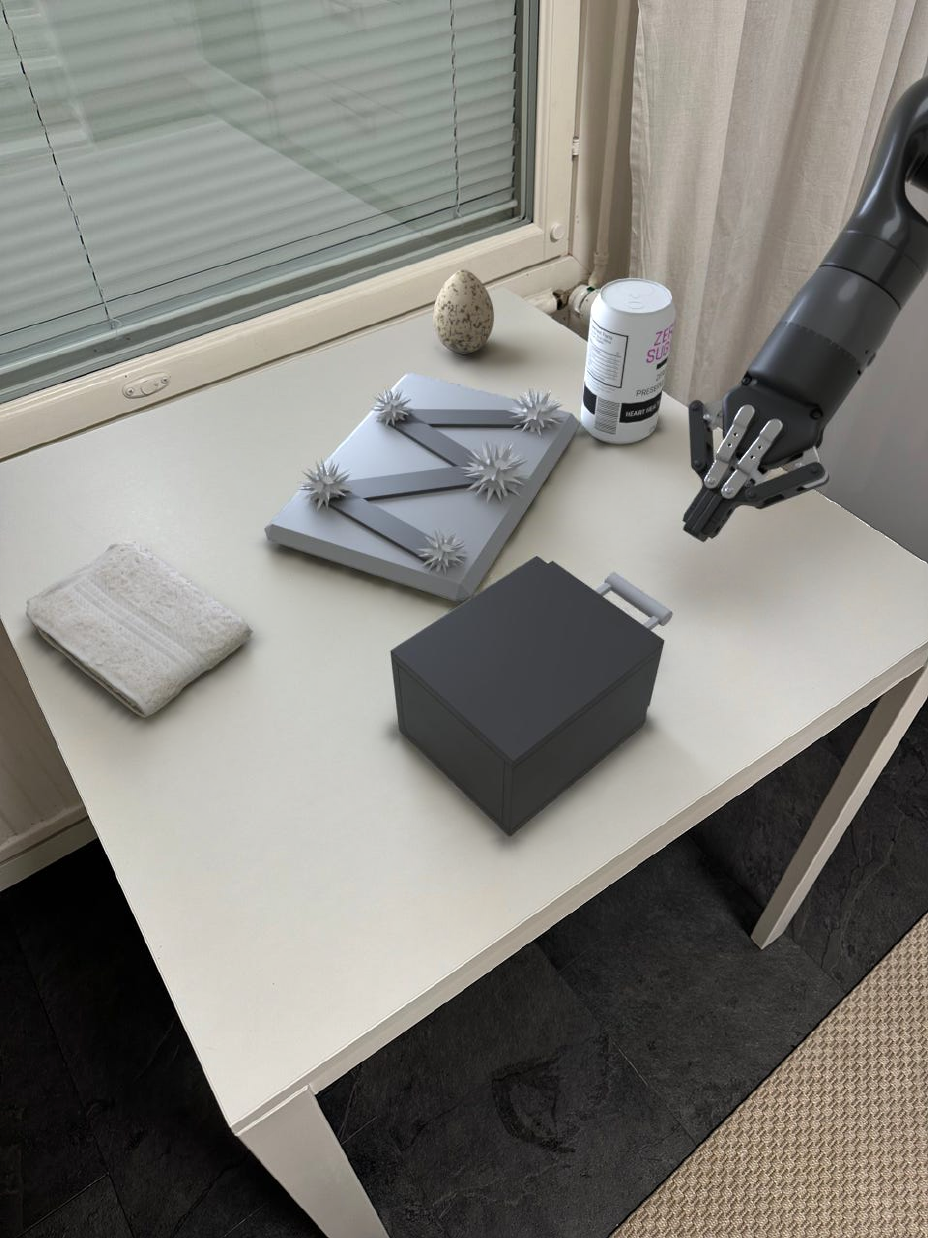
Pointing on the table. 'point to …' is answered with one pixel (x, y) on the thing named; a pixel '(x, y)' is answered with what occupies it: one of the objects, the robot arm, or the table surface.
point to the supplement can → (626, 359)
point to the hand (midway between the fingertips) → (693, 536)
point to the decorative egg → (463, 313)
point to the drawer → (633, 597)
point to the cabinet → (523, 690)
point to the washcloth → (136, 626)
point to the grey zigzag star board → (428, 484)
